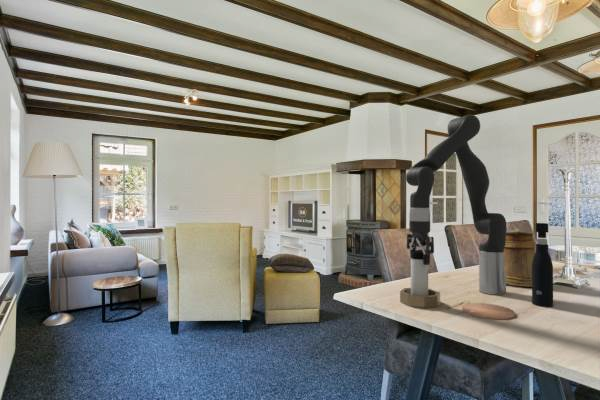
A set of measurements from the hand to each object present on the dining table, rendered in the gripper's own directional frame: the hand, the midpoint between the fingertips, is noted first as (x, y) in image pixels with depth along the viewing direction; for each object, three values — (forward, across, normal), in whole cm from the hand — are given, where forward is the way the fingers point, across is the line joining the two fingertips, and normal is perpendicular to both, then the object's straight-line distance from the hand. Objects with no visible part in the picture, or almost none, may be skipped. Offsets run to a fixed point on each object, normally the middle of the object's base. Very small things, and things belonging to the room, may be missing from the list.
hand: (419, 262), depth 134 cm
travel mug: (+15, 0, 0) cm, 15 cm away
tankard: (+15, +18, -64) cm, 68 cm away
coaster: (+15, -16, -16) cm, 27 cm away
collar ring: (+15, 0, 0) cm, 15 cm away
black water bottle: (+15, -14, -42) cm, 47 cm away
